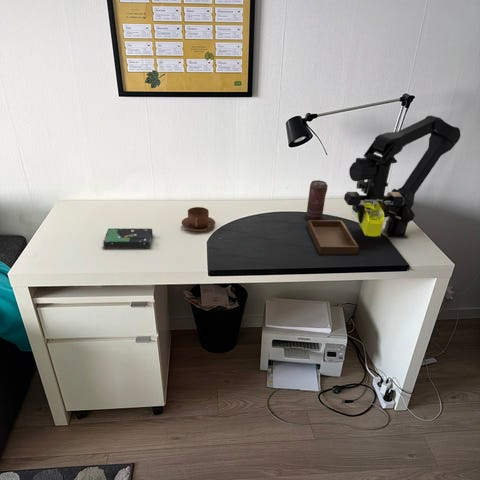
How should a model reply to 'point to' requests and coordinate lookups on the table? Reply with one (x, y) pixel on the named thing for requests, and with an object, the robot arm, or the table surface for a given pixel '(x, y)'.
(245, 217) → the table surface
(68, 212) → the table surface
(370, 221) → the yellow toy chassis
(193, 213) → the cup and saucer
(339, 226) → the tray
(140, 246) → the disk drive
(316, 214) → the can
